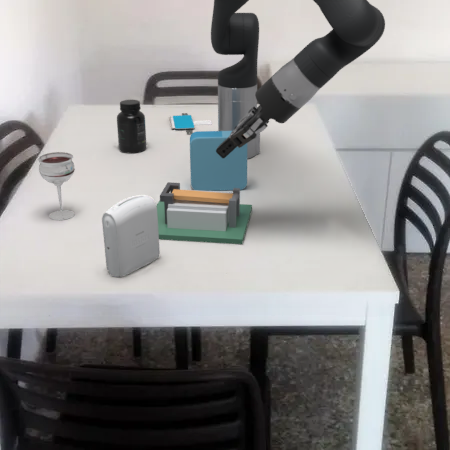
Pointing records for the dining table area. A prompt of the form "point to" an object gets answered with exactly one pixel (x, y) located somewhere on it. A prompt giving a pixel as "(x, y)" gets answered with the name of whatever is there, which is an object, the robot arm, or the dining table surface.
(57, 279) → the dining table surface
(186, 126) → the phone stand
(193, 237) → the processor board
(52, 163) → the wineglass
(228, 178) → the blue rounded block
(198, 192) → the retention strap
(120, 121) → the supplement bottle
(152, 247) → the photo printer
